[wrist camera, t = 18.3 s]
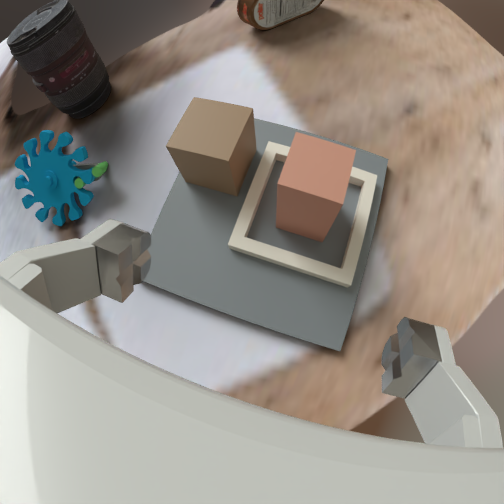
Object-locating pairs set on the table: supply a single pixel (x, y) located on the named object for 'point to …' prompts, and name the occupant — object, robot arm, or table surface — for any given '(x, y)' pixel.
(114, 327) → the table surface
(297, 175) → the pillar block
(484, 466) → the robot arm
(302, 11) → the tin
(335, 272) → the base plate
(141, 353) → the table surface
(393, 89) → the table surface
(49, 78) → the camera lens
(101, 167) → the gear
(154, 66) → the table surface
